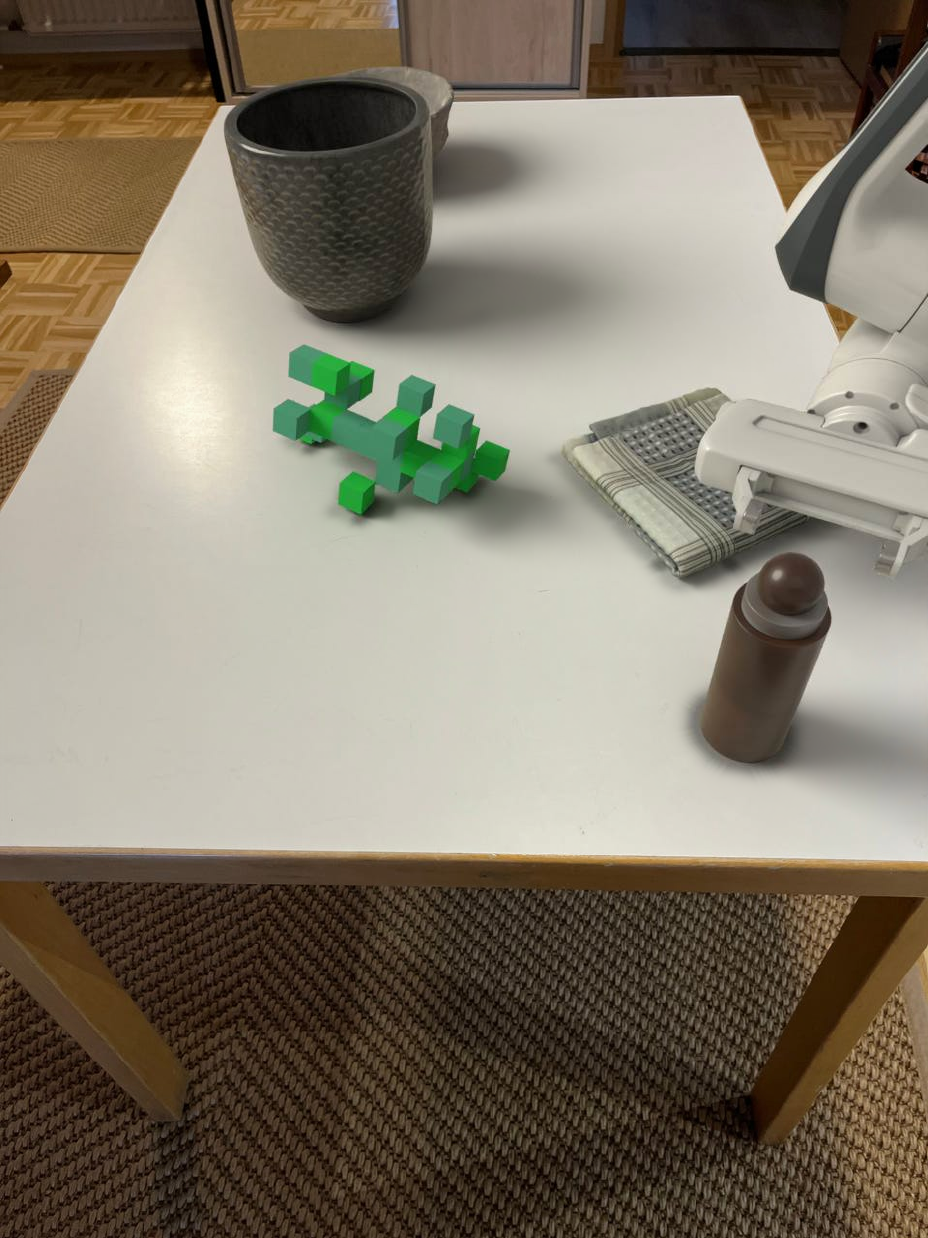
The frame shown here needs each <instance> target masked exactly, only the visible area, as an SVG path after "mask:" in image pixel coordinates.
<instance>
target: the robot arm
mask: <svg viewBox="0 0 928 1238" xmlns="http://www.w3.org/2000/svg"><path fill="white" fill-rule="evenodd" d="M927 145H928V41H927V42H925V44H924V45H923V46H922V48H920V50H919V51H918V52H917V54H916V55H915V56H914V57H913V59H912V60H911V61H910V63H909V64H908V65H907V66H906V68H905V69H904V70H903V71H902V73H901V74H900V75H899V77H897V79H896V80H895V82H893V84H892V85H891V87H889V89H888V91H887V92H886V93H884V96H882V98H881V99H880V100H879V102H878V103H877V104H876V105H875V107H874V108H873V109H872V110H871V111H870V113H869V114H868V115H867V117H866V118H865V119H864V120H863V122H862V123H861V124H860V126H858V128H857V129H856V131H854V133H853V134H852V135H851V137H850V138H849V139H848V140H847V141H846V142H845V144H844V145H842V147H841V148H840V149H839V150H838V151H837V153H836V154H835V155H834V156H833V158H832V159H830V161H828V163H826V164H825V165H824V166H823V167H822V168H820V169H819V170H818V171H817V172H816V173H815V174H814V175H813V176H812V177H811V178H810V179H809V180H808V181H807V182H806V184H805V185H804V186H803V187H802V189H801V190H800V191H799V192H798V193H797V195H796V197H795V198H794V200H793V201H792V203H791V204H790V207H789V208H788V210H787V211H786V214H785V216H784V218H783V220H782V222H781V225H780V228H779V232H778V234H777V241H776V243H775V245H774V250H775V256H776V259H777V262H778V265H779V268H780V271H781V274H782V277H783V278H784V281H785V283H786V285H787V287H788V289H789V290H790V291H792V292H794V293H797V294H799V295H802V296H805V297H806V298H810V299H813V300H815V301H817V302H820V303H823V304H825V305H832V306H833V307H836V308H838V309H840V310H842V311H844V312H846V313H848V314H851V315H852V316H854V317H856V319H855V321H854V322H853V323H852V324H851V325H850V327H849V328H848V330H847V331H846V333H845V334H844V336H843V337H842V339H841V340H840V342H839V343H838V345H837V347H836V348H835V350H834V353H833V355H832V357H831V358H830V360H829V363H828V366H827V370H826V374H824V376H823V378H821V380H820V382H819V383H818V385H817V386H816V389H815V390H814V393H813V394H812V397H811V398H810V401H809V402H808V405H807V407H806V409H805V411H801V410H798V409H794V408H789V407H786V406H783V405H779V404H775V403H771V402H767V401H763V400H759V399H752V398H746V399H741V400H738V401H732V402H726V403H724V404H723V405H722V406H721V408H720V409H719V411H718V413H717V414H716V416H715V418H714V422H713V423H712V425H711V426H710V427H709V429H708V430H707V431H706V433H705V434H704V435H703V437H702V439H701V441H700V444H699V447H698V451H697V456H696V461H695V474H696V476H697V478H698V480H699V481H700V482H701V483H702V484H704V485H707V486H710V487H714V488H717V489H721V490H724V491H727V492H731V493H733V496H732V500H733V503H734V506H735V508H736V511H737V513H736V516H735V520H734V525H733V529H736V530H739V531H742V532H746V533H749V534H753V535H754V533H755V530H756V528H757V527H758V524H759V522H760V519H761V516H762V514H761V513H762V511H763V508H764V505H765V503H768V504H771V505H774V506H778V507H781V508H785V509H788V510H791V511H795V512H798V513H801V514H805V515H808V516H811V517H815V519H818V520H822V521H825V522H829V523H832V524H836V525H839V526H842V527H845V528H848V529H852V530H855V531H857V532H858V531H859V532H862V533H865V534H869V535H872V536H875V537H879V538H881V539H885V540H884V542H883V545H882V546H881V550H880V552H879V554H878V556H877V559H876V562H875V565H874V567H873V570H872V573H875V574H878V575H881V576H885V577H888V578H890V579H893V580H896V579H897V577H898V575H899V573H900V570H901V568H902V566H903V565H906V564H907V563H909V562H911V561H914V560H915V559H917V558H919V557H921V556H922V555H923V553H924V551H926V552H928V183H927V182H925V181H923V180H920V179H918V178H917V177H915V176H914V175H912V174H911V173H910V172H908V171H907V170H906V168H907V167H908V166H909V165H910V164H911V163H912V162H913V161H914V160H915V158H916V157H917V156H918V155H919V154H920V153H921V152H922V151H923V150H924V149H925V148H926V146H927Z"/></svg>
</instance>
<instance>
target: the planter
mask: <svg viewBox="0 0 928 1238" xmlns="http://www.w3.org/2000/svg"><path fill="white" fill-rule="evenodd" d="M331 76H332V75H331ZM223 136H224V142H225V146H226V150H227V154H228V158H229V161H230V162H229V163H230V166H231V167H230V168H231V171H232V176H233V180H234V183H235V187H236V190H237V194H238V199H239V202H240V205H241V208H242V209H241V210H242V213H243V217H244V220H245V223H246V227H247V230H248V234H249V237H250V239H251V240H250V241H251V242H252V243H251V244H252V246H253V248H254V249H253V250H254V251H255V254H256V256H257V259H258V261H259V263H260V265H261V267H262V268H263V270H264V271H265V274H266V275H267V276H268V278H269V279H270V280H271V282H272V283H273V284H274V285H275V286H276V287H277V288H278V289H279V290H280V291H282V293H284V294H285V295H286V296H288V297H289V298H291V299H292V300H294V301H296V302H298V303H300V304H302V306H303V307H304V309H306V311H308V312H309V313H310V314H312V315H313V316H316V317H317V318H319V319H322V320H324V321H329V322H334V323H356V322H362V321H367V320H371V319H374V318H377V317H379V316H382V315H383V314H385V313H387V312H389V311H390V310H391V309H392V308H393V307H394V306H395V305H396V304H397V302H399V300H400V298H401V296H402V294H403V292H404V291H405V290H407V288H409V287H410V286H411V285H412V283H414V281H415V280H416V278H417V277H418V276H419V274H420V273H421V271H422V270H423V267H424V265H425V263H426V261H427V257H428V255H429V252H430V248H431V242H432V236H433V223H434V174H433V173H434V172H433V170H434V169H433V165H434V164H433V160H434V159H432V140H431V117H430V111H429V107H428V104H427V102H426V100H425V99H424V98H423V97H422V96H421V95H420V94H419V93H417V92H416V91H415V90H413V89H411V88H409V87H407V86H405V85H402V84H399V83H397V82H393V81H389V80H384V79H378V78H372V77H360V76H332V77H329V76H321V77H311V78H305V79H298V80H295V81H290V82H285V83H281V84H278V85H274V86H271V87H269V88H266V89H265V88H264V89H263V90H259V91H258V92H256V93H254V94H252V95H249V96H247V97H246V98H244V99H243V100H241V101H239V102H238V103H237V104H236V105H235V106H233V107H232V109H230V111H229V112H228V113H227V115H226V117H225V120H224V122H223Z"/></svg>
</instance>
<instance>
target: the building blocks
mask: <svg viewBox="0 0 928 1238" xmlns="http://www.w3.org/2000/svg"><path fill="white" fill-rule="evenodd" d="M375 370H376V369H373V368H371V367H369V366H366V365H364V364H361V363H359V362H356V361H353V360H351V361H350V362H349V361H347V360H345V359H342V358H340V357H337V356H335V355H332V354H330V353H328V352H325V351H322V350H320V349H317V348H314V347H312V346H310V345H307V344H305V343H304V344H301V345H300V346H298V347H297V348H295V349H294V350H292V351H290V352H289V358H288V376H287V377H288V378H290V379H293V380H295V381H297V382H300V383H302V384H305V385H307V386H309V387H312V388H315V389H317V390H319V391H322V392H324V396H323V400H321V401H320V402H318V403H313V404H311V405H310V406H306V405H303V404H301V403H299V402H296V401H294V400H292V399H289V398H287V399H286V400H284V401H283V402H281V403H280V404H278V405H277V406H275V407H274V408H273V412H272V413H273V414H272V432H274V433H276V434H279V435H281V436H282V437H285V438H288V439H289V440H292V441H295V442H296V441H298V440H301V441H303V442H306V443H308V444H310V445H313V444H314V443H315V442H317V443H321V444H322V443H324V442H325V441H326V440H328V441H330V442H332V443H333V444H337V445H339V446H341V447H343V448H346V449H348V450H350V451H353V452H354V453H356V454H358V455H361V456H363V457H365V458H368V459H370V460H372V461H375V462H376V468H375V476H374V479H372V478H370V477H367V476H366V475H363V474H361V473H358V472H356V471H351V472H350V473H349V474H348V475H347V476H346V477H345V478H343V479H342V480H341V481H340V482H339V486H338V500H337V504H338V506H341V507H342V508H345V509H348V510H350V511H352V512H353V513H357V514H358V515H362V514H363V513H365V511H366V510H367V509H369V507H370V506H371V505H373V504H374V501H375V493H376V485H377V486H380V487H383V488H384V489H387V490H389V491H391V492H393V493H396V494H399V493H400V492H402V490H403V489H404V488H405V487H407V486H408V484H410V483H411V482H412V481H413V480H414V483H413V489H412V495H415V496H417V497H420V498H422V499H424V500H426V501H429V502H431V503H433V504H436V505H439V503H440V502H442V501H443V500H444V499H445V497H447V496H448V495H449V494H450V493H451V492H452V491H454V489H457V490H459V491H461V492H464V493H468V492H469V491H470V490H471V489H472V488H473V487H474V486H475V485H476V484H477V483H478V481H479V476H480V477H483V478H485V479H488V480H490V481H493V482H494V483H496V481H498V480H499V478H501V477H502V476H503V474H504V473H505V472H506V470H507V466H508V461H509V457H510V453H511V450H510V448H507V447H504V446H501V445H500V444H496V443H494V442H491V441H490V440H487V439H486V440H485V441H484V442H483V443H482V444H481V445H480V446H479V447H478V448H477V446H478V440H479V438H480V432H481V427H479V426H477V425H475V424H474V420H475V414H474V413H472V412H469V411H467V410H464V409H463V408H461V407H457V406H455V405H452V404H450V403H449V404H447V405H446V406H445V407H444V408H442V409H441V410H440V411H439V412H438V413H437V414H436V418H435V424H434V429H433V435H432V439H434V440H436V441H439V442H441V446H440V447H441V448H438V447H435V446H434V445H431V444H428V443H426V442H424V441H422V440H419V439H418V435H419V430H420V429H419V428H420V423H421V417H422V416H424V415H425V414H426V413H427V412H428V411H429V410H431V409H432V408H433V404H434V403H433V402H434V396H435V393H436V392H435V391H436V386H437V385H436V383H433V382H431V381H428V380H425V379H423V378H421V377H418V376H416V375H413V374H410V375H409V376H408V377H407V378H406V379H404V380H403V381H401V382H400V383H399V384H398V390H397V398H396V406H395V407H394V408H393V409H391V410H390V411H389V412H387V413H386V414H385V415H384V416H383V417H381V418H380V419H379V420H378V421H375V420H372V419H370V418H368V417H366V416H364V415H361V414H359V413H357V412H354V411H352V410H349V409H350V408H351V407H352V406H355V404H356V403H358V402H362V400H364V399H365V398H366V397H367V396H370V395H371V394H372V393H373V388H374V379H375V372H376V371H375Z"/></svg>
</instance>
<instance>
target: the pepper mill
mask: <svg viewBox="0 0 928 1238" xmlns="http://www.w3.org/2000/svg"><path fill="white" fill-rule="evenodd" d="M825 585H826V581H825V576H824V572H823V570H822V568H821V567H820V566H819V564H818V563H817V561H815V560H814V559H813V558H812V557H810V556H808V555H806V554H804V553H800V552H795V551H790V552H789V551H788V552H782V553H778V554H777V555H774V556H772V557H771V558H770V559H769V560H767V561H766V562H765V563H764V565H763V566H762V567H761V569H760V571H758V572H757V573H755V574H754V575H753V576H751V577H750V578H749V580H748V581H746V582H745V583H743V584H742V585H741V586H740V587H739V588H738V589H737V590H736V592H735V594H734V595H733V598H732V602H731V606H730V609H729V612H728V617H727V620H726V625H725V627H724V630H723V635H722V639H721V642H720V646H719V649H718V653H717V657H716V661H715V664H714V668H713V671H712V675H711V679H710V683H709V686H708V690H707V693H706V697H705V701H704V704H703V708H702V712H701V716H700V730H701V732H702V735H703V737H704V739H705V740H706V742H707V743H708V744H709V746H710V747H711V748H712V749H714V750H715V751H716V752H717V753H719V754H720V755H722V756H723V757H726V758H728V759H730V760H733V761H737V762H741V763H742V762H743V763H758V762H762V761H765V760H766V761H767V760H768V759H770V758H772V757H773V756H775V755H776V754H777V753H778V752H779V751H780V750H781V749H782V747H783V745H784V743H785V741H786V738H787V736H788V733H789V730H790V728H791V727H792V726H791V725H792V723H793V720H794V717H795V715H796V713H797V711H798V708H799V706H800V703H801V701H802V698H803V696H804V694H805V691H806V688H807V686H808V683H809V681H810V679H811V676H812V673H813V672H814V669H815V667H816V665H817V664H816V663H817V661H818V658H819V656H820V654H821V651H822V649H823V647H824V644H825V641H826V639H827V636H828V633H829V632H830V629H831V625H832V620H833V618H832V612H831V608H830V606H829V599H828V595H827V593H826V591H825Z"/></svg>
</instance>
